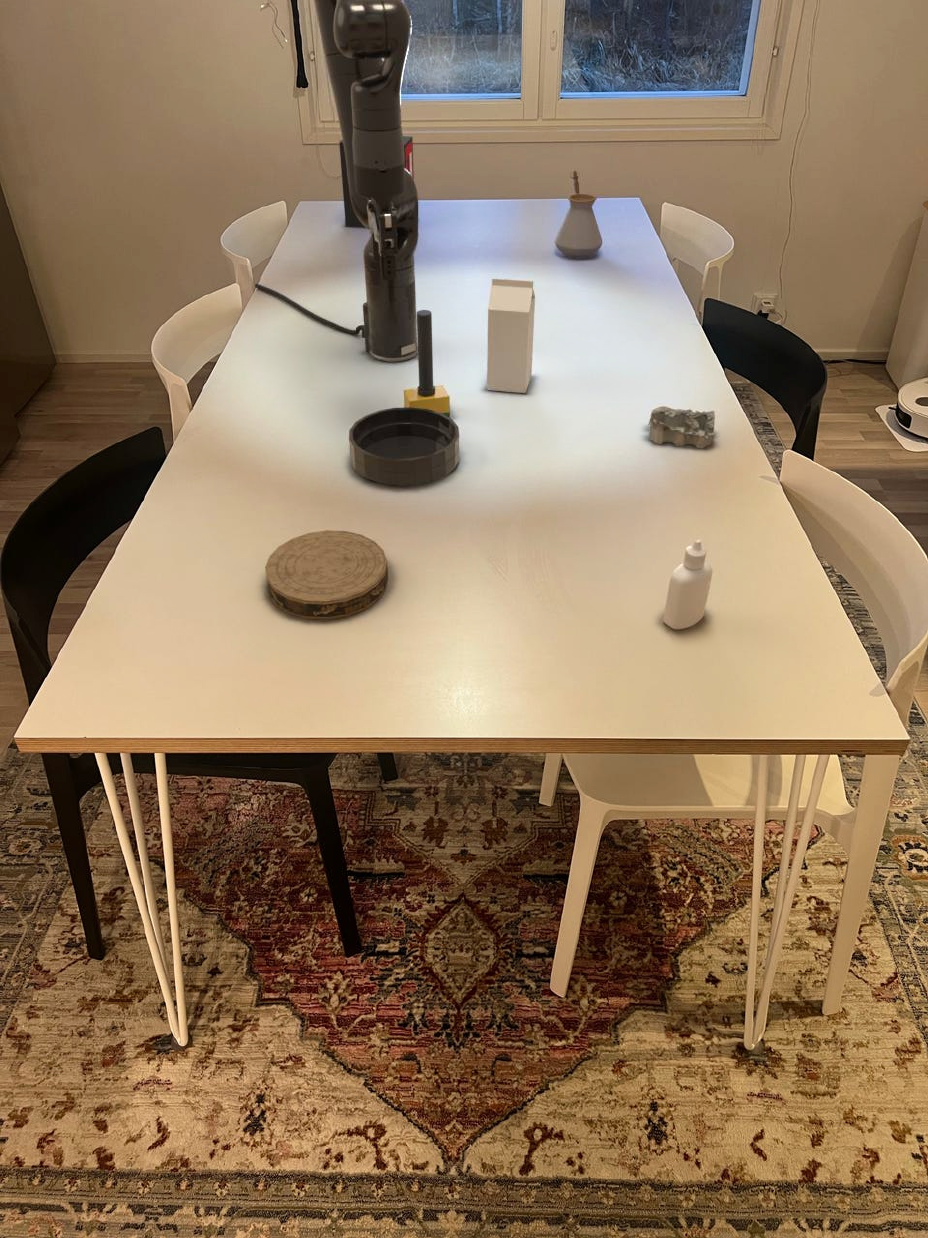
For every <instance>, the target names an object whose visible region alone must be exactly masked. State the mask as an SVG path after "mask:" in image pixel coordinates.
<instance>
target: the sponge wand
mask: <svg viewBox="0 0 928 1238" xmlns="http://www.w3.org/2000/svg"><path fill="white" fill-rule="evenodd" d="M416 320H417V346H418V353H417V364H418V386H417V388H410V389H403V408H405V407H414V408H422V409H429V410H432V411H436V412H439V413H442V414H444V415H446V416H447V417H449V418H451V408H450V407H451V405H450V394H449V393H448V391H447V390H446V388H445V386H444V385H434V363H433V362H434V359H433V358H434V357H433V316H432V311H431V310H428V309H420V310H417V311H416Z"/></svg>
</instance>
